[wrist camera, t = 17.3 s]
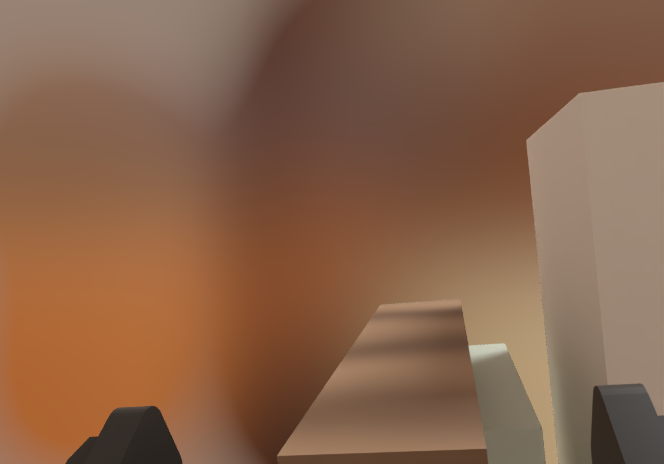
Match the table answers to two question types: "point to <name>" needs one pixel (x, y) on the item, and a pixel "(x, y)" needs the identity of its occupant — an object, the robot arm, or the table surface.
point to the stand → (588, 272)
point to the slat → (398, 395)
